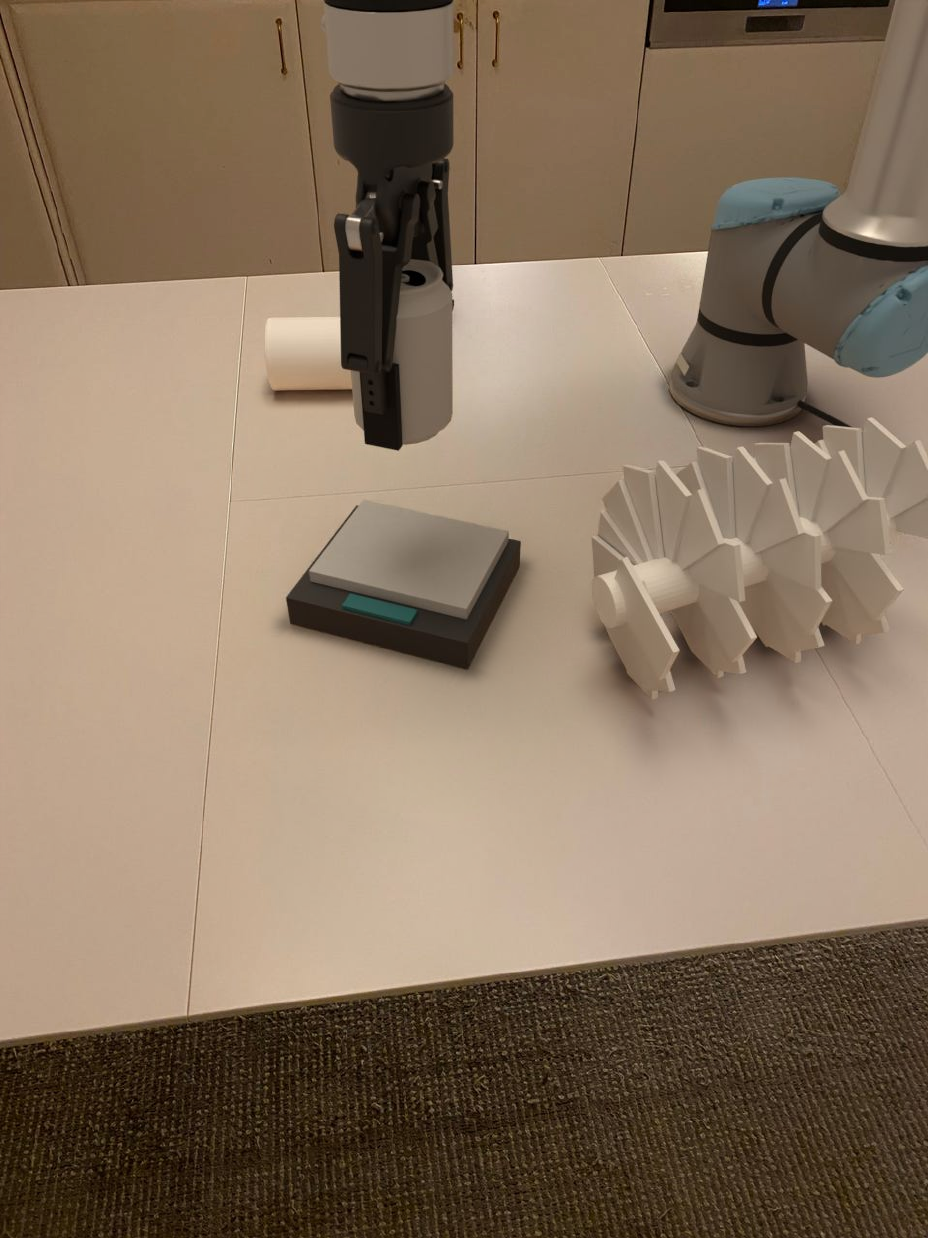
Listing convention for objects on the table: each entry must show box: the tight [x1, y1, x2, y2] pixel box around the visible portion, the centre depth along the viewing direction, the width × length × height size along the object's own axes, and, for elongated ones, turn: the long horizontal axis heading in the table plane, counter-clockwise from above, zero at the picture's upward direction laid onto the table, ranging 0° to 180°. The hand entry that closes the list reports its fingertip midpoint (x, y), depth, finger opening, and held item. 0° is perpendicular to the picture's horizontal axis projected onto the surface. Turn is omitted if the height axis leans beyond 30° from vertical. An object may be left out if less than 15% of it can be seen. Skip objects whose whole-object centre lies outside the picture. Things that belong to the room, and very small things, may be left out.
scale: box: [285, 499, 522, 670], centre depth 82 cm, size 16×14×4 cm
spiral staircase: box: [590, 416, 928, 700], centre depth 74 cm, size 18×18×25 cm
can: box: [351, 259, 454, 446], centre depth 69 cm, size 8×8×12 cm
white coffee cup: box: [263, 316, 352, 391], centre depth 110 cm, size 12×10×8 cm
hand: (405, 417), depth 73 cm, fingers closed on can, 7 cm apart
